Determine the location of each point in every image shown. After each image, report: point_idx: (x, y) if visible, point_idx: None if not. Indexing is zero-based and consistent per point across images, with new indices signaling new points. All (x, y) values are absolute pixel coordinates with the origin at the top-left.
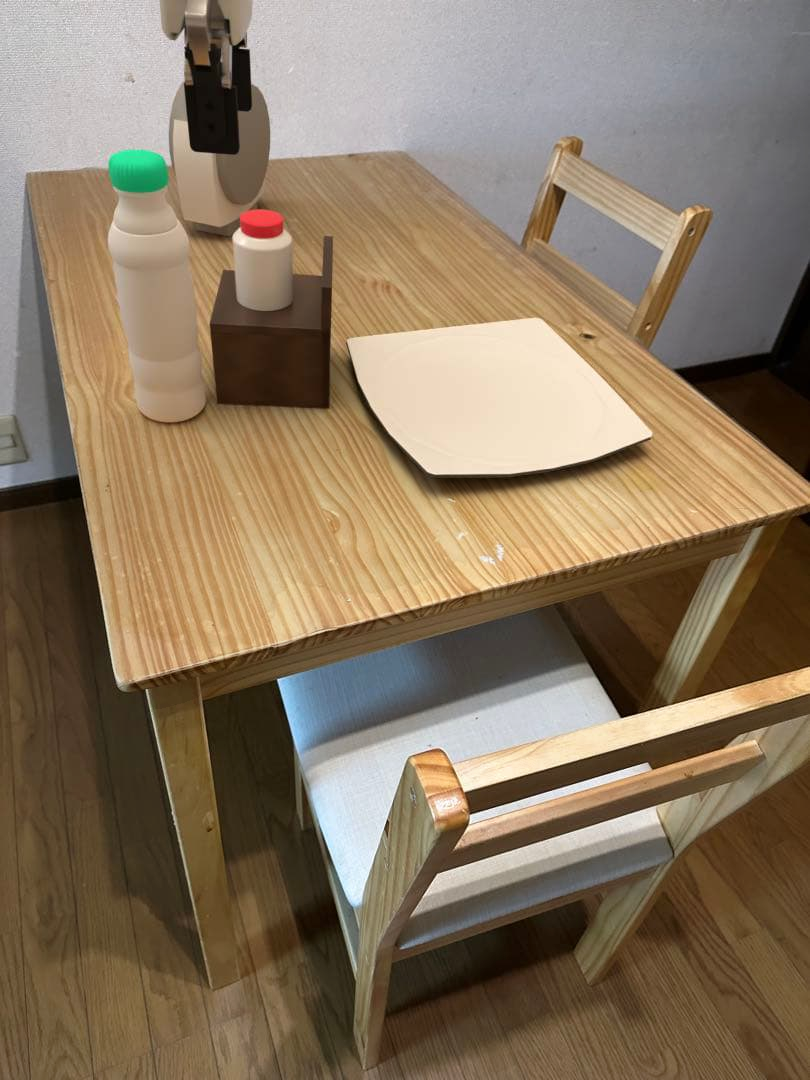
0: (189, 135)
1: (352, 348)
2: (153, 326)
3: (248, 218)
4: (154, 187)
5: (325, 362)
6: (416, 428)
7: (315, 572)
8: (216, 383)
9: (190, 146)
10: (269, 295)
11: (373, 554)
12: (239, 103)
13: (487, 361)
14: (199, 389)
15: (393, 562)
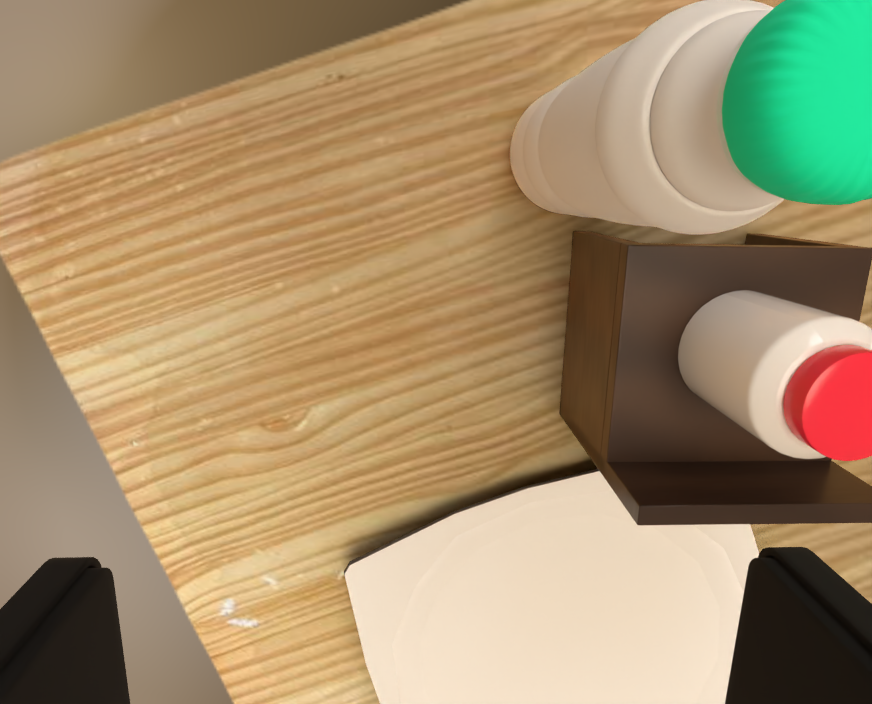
0: (14, 596)
1: None
2: (552, 139)
3: (851, 376)
4: (739, 166)
5: (584, 441)
6: (491, 545)
7: (179, 401)
8: (585, 236)
9: (49, 561)
10: (694, 373)
11: (222, 474)
12: (744, 701)
13: (678, 656)
14: (555, 210)
15: (210, 497)
